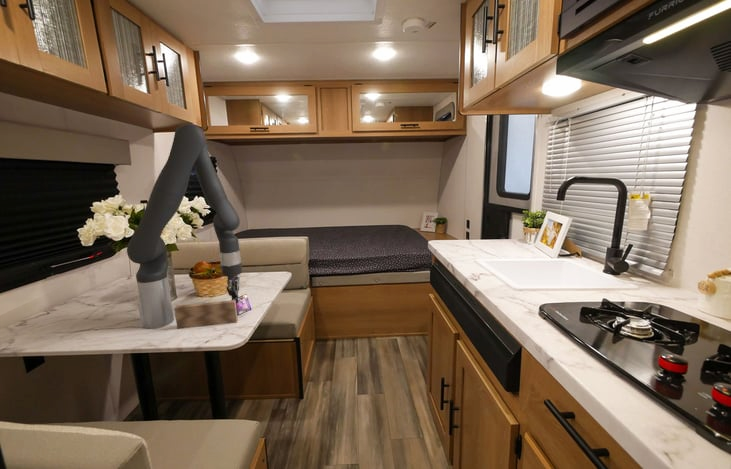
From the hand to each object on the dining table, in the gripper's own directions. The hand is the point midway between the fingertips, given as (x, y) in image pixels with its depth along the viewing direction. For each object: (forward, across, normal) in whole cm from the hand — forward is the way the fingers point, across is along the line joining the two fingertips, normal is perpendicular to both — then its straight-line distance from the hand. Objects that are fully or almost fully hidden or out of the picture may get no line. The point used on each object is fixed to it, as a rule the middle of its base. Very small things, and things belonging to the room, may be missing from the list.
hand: (235, 303), depth 126 cm
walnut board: (+2, +12, -8) cm, 14 cm away
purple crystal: (+3, +4, +2) cm, 5 cm away
